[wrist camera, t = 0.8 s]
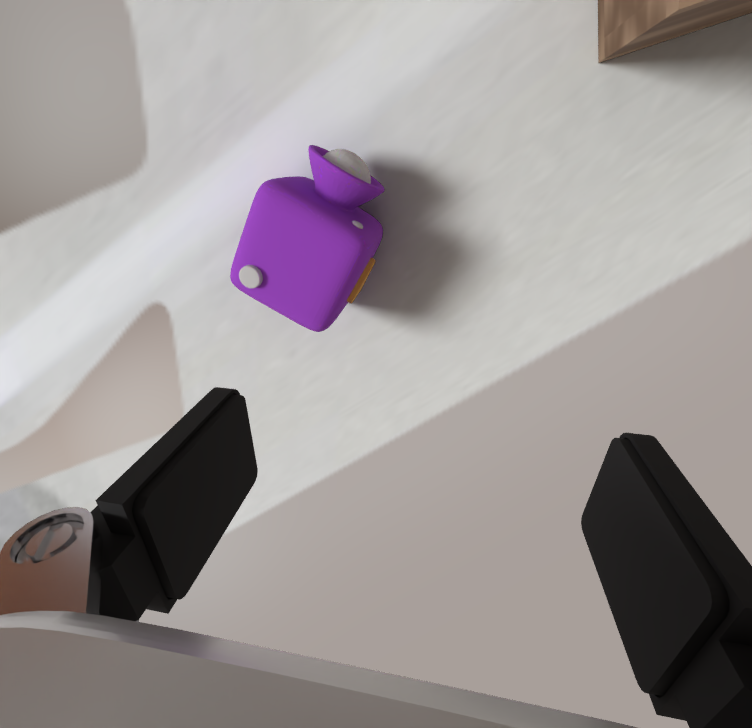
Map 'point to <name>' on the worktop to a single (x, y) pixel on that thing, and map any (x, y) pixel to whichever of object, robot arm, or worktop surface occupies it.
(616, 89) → the worktop surface
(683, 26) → the cabinet
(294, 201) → the toy camera
